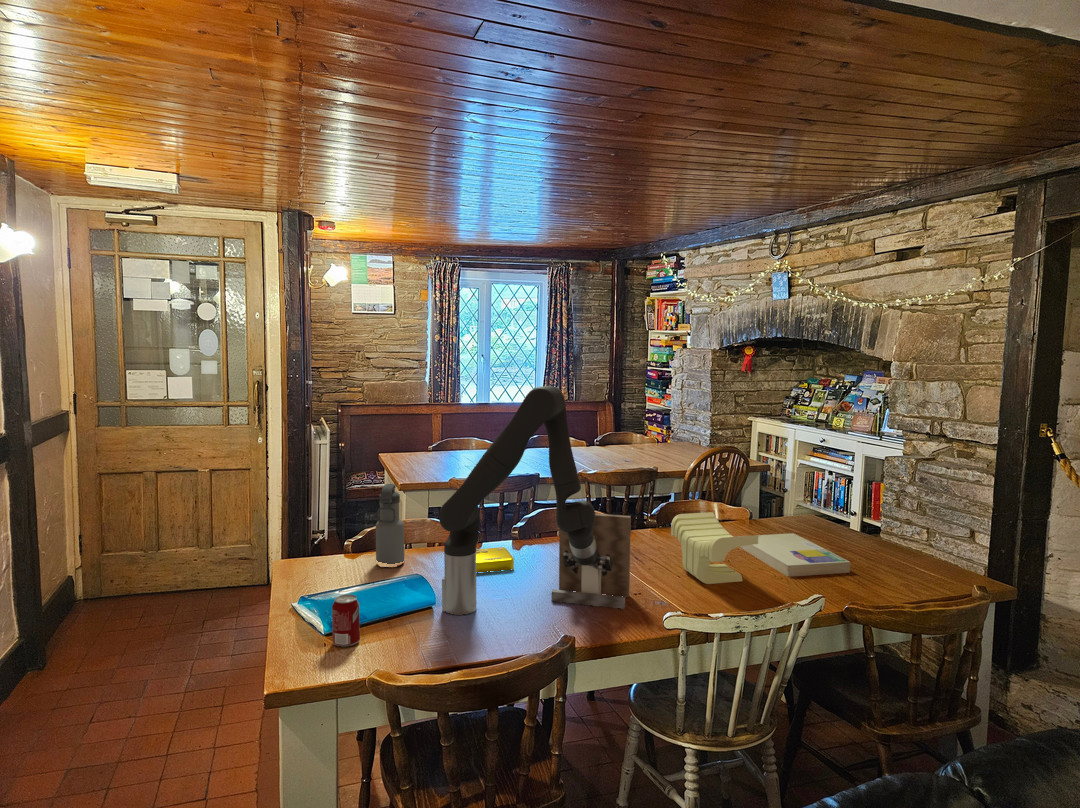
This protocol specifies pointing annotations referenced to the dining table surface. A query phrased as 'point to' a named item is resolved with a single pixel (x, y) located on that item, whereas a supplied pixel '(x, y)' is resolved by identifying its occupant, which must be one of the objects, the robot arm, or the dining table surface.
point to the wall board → (610, 540)
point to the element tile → (493, 559)
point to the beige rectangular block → (591, 580)
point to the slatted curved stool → (707, 546)
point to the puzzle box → (796, 555)
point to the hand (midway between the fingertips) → (590, 572)
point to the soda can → (345, 620)
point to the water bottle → (389, 527)
